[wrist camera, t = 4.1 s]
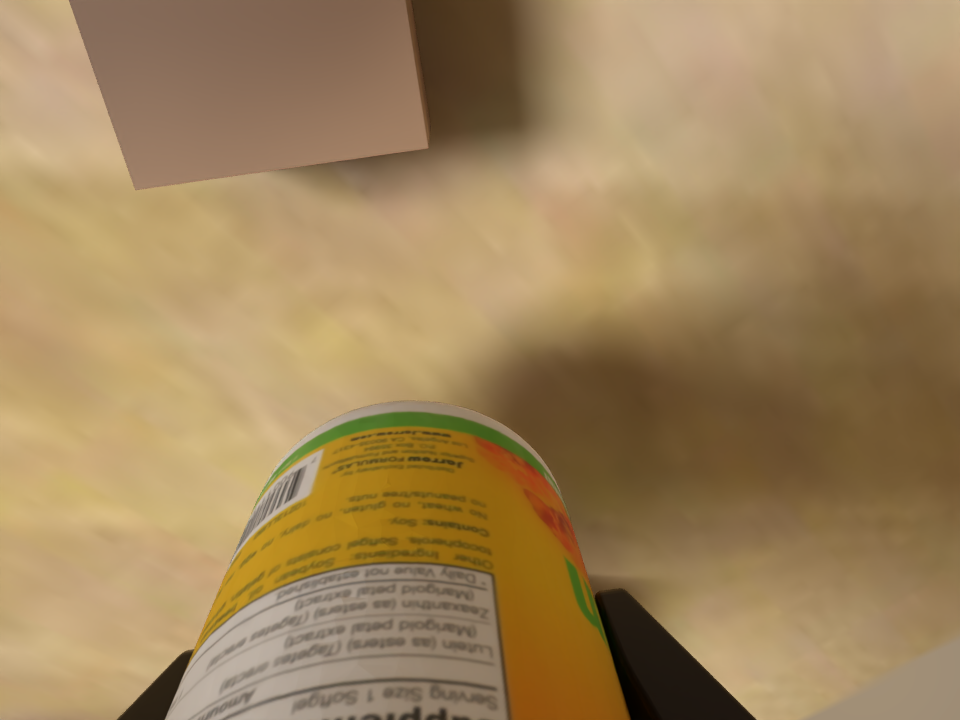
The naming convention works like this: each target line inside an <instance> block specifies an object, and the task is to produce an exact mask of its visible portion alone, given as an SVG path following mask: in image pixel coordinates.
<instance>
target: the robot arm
mask: <svg viewBox="0 0 960 720" xmlns="http://www.w3.org/2000/svg"><path fill="white" fill-rule="evenodd" d="M595 602H596V605H597V609H598V612H599V615H600V618H601V622H602V625H603V628H604V631H605V635H606V638H607V641H608V645H609V648H610V651H611V655H612V658H613V661H614V665H615V668H616V671H617V674H618V678H619V681H620V684H621V687H622V691H623V694H624V697H625V701H626V704H627V707H628V710H629V714H630V717H631V720H756V719H755V718H754V717H753V716H752V715H751V714H750V713H749V712H748V711H747V710H746V709H745V708H744V707H743V706H742V705H741V704H740V703H739V702H738V701H737V700H736V699H735V698H734V697H733V696H732V695H731V694H730V693H729V692H728V691H727V690H726V689H725V688H724V687H723V686H722V685H721V684H720V683H719V682H718V681H717V680H716V679H715V678H714V677H713V676H712V675H711V674H710V673H709V672H708V671H707V670H706V669H705V668H704V667H703V666H702V665H701V664H700V663H699V662H698V661H697V660H696V659H695V658H694V657H693V656H692V655H691V654H690V653H689V652H688V651H687V650H686V649H685V648H684V647H683V646H682V645H681V644H680V643H679V642H678V641H677V640H676V639H675V638H674V637H673V636H672V635H671V634H670V633H668V632H667V631H666V630H665V629H664V628H663V627H662V626H661V625H660V624H659V623H658V622H657V621H656V620H655V619H654V618H653V617H652V616H651V615H650V614H649V613H648V612H647V611H646V610H645V609H644V608H643V607H642V606H641V605H640V604H639V603H638V602H637V601H636V600H635V599H634V598H633V597H632V596H631V595H630V594H629V593H628V592H627V591H626V590H624V589H621V588H619V589H612V590H605V591H599V592H598V593H597V594H596V596H595ZM193 651H194V649H193V650H187V651H185V652H183V653H182V654H181V655H179V656H178V657H177V658H176V659H175V660H174V661H173V663H172V664H171V665H170V666H169V667H168V668H167V669H166V670H165V671H164V672H163V673H162V674H161V675H160V676H159V677H158V678H157V679H156V680H155V681H154V682H153V683H152V684H151V685H150V686H149V687H148V688H147V689H146V690H145V691H144V692H143V693H142V694H141V695H140V696H139V697H138V698H137V700H136V701H135V702H134V703H133V704H132V705H131V706H130V707H129V708H128V709H127V710H126V711H125V712H124V713H123V714H122V715H121V716H120V717H119V718H118V719H117V720H165V718H166V716H167V714H168V711H169V709H170V707H171V704H172V702H173V700H174V697H175V695H176V692H177V690H178V687H179V685H180V683H181V680H182V678H183V675H184V673H185V670H186V668H187V665H188V663H189V660H190V658H191V656H192V653H193Z"/></svg>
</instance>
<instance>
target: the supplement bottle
mask: <svg viewBox="0 0 960 720" xmlns="http://www.w3.org/2000/svg"><path fill="white" fill-rule="evenodd" d="M165 720H631V717H630V714H629V710H628V707H627V704H626V701H625V697H624V694H623V691H622V687H621V684H620V681H619V678H618V674H617V671H616V668H615V665H614V661H613V658H612V655H611V651H610V648H609V645H608V641H607V638H606V635H605V631H604V628H603V625H602V622H601V618H600V615H599V612H598V609H597V605H596V602H595V599H594V596H593V593H592V589H591V586H590V582H589V579H588V576H587V572H586V569H585V566H584V563H583V560H582V556H581V553H580V550H579V547H578V543H577V540H576V537H575V534H574V531H573V527H572V524H571V520H570V517H569V514H568V511H567V508H566V505H565V502H564V500H563V498H562V495H561V492H560V489H559V487H558V485H557V483H556V481H555V479H554V477H553V475H552V473H551V471H550V470H549V468H548V467H547V465H546V464H545V462H544V461H543V460H542V458H541V457H540V456H539V455H538V454H537V452H536V451H535V450H534V449H533V448H532V447H531V446H530V445H529V444H528V443H527V442H526V441H525V440H524V439H522V438H521V437H520V436H519V435H518V434H516V433H515V432H514V431H512V430H511V429H509V428H508V427H506V426H505V425H503V424H502V423H500V422H498V421H496V420H494V419H492V418H490V417H488V416H485V415H483V414H481V413H479V412H476V411H473V410H470V409H467V408H463V407H460V406H456V405H451V404H445V403H439V402H430V401H393V402H386V403H380V404H375V405H371V406H366V407H362V408H359V409H356V410H353V411H350V412H347V413H345V414H343V415H340V416H338V417H336V418H334V419H332V420H330V421H328V422H326V423H325V424H323V425H322V426H320V427H318V428H317V429H315V430H314V431H312V432H311V433H309V434H308V435H307V436H305V437H304V438H303V439H301V440H300V441H299V442H298V443H297V444H296V445H295V446H294V447H293V448H292V449H291V450H290V451H289V452H288V453H287V454H286V455H285V456H284V457H283V458H282V459H281V461H280V462H279V463H278V465H277V466H276V468H275V469H274V470H273V472H272V474H271V476H270V477H269V479H268V481H267V482H266V484H265V486H264V488H263V490H262V492H261V494H260V496H259V498H258V500H257V502H256V504H255V506H254V509H253V511H252V513H251V516H250V518H249V520H248V523H247V525H246V527H245V530H244V532H243V535H242V537H241V539H240V541H239V544H238V546H237V548H236V551H235V553H234V556H233V558H232V560H231V562H230V565H229V567H228V570H227V572H226V575H225V577H224V579H223V581H222V584H221V586H220V589H219V591H218V594H217V596H216V598H215V601H214V603H213V606H212V608H211V611H210V613H209V615H208V618H207V620H206V622H205V625H204V627H203V630H202V632H201V634H200V637H199V639H198V642H197V644H196V646H195V649H194V651H193V653H192V656H191V658H190V660H189V663H188V665H187V668H186V670H185V673H184V675H183V678H182V680H181V683H180V685H179V687H178V690H177V692H176V695H175V697H174V700H173V702H172V704H171V707H170V709H169V711H168V714H167V716H166V718H165Z"/></svg>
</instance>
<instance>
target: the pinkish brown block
mask: <svg viewBox="0 0 960 720" xmlns="http://www.w3.org/2000/svg"><path fill="white" fill-rule="evenodd" d="M69 2H70V5H71V8H72V10H73V13H74V16H75V19H76V22H77V25H78V28H79V30H80V33H81V36H82V39H83V42H84V45H85V48H86V50H87V53H88V56H89V59H90V62H91V65H92V68H93V70H94V73H95V76H96V79H97V82H98V85H99V88H100V90H101V93H102V96H103V99H104V102H105V105H106V108H107V110H108V113H109V116H110V119H111V122H112V125H113V128H114V130H115V133H116V136H117V139H118V142H119V145H120V148H121V150H122V153H123V156H124V159H125V162H126V165H127V168H128V170H129V173H130V176H131V179H132V182H133V185H134V188H135V190H140V189H147V188H154V187H161V186H168V185H175V184H182V183H189V182H196V181H203V180H210V179H217V178H224V177H231V176H238V175H245V174H252V173H259V172H266V171H273V170H280V169H287V168H294V167H301V166H308V165H315V164H322V163H329V162H336V161H343V160H350V159H357V158H364V157H371V156H378V155H385V154H392V153H399V152H406V151H413V150H420V149H427V148H428V147H429V138H430V129H431V124H430V118H429V111H428V105H427V98H426V92H425V85H424V78H423V72H422V65H421V59H420V52H419V45H418V39H417V32H416V26H415V19H414V13H413V6H412V0H69Z"/></svg>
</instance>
